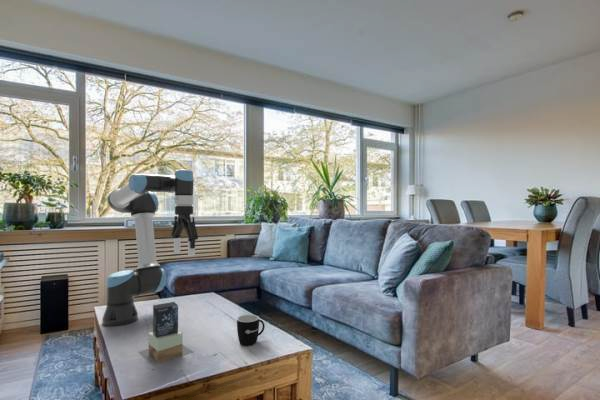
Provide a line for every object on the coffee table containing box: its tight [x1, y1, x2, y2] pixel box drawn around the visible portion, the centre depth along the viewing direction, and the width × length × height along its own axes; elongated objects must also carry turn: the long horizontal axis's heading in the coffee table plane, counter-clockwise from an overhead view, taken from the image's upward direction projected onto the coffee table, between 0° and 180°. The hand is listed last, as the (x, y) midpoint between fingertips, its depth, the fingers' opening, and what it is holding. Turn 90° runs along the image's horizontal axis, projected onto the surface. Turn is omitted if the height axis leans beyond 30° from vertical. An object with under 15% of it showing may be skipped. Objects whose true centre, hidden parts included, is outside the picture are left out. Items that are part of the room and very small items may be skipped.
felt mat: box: [138, 344, 194, 366], centre depth 127 cm, size 15×15×1 cm
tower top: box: [148, 330, 183, 351], centre depth 125 cm, size 9×9×4 cm
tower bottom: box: [148, 343, 184, 363], centre depth 125 cm, size 9×9×4 cm
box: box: [152, 301, 179, 337], centre depth 125 cm, size 8×6×11 cm
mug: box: [236, 314, 266, 347], centre depth 137 cm, size 12×9×10 cm
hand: (184, 254), depth 145 cm, fingers open, 13 cm apart
